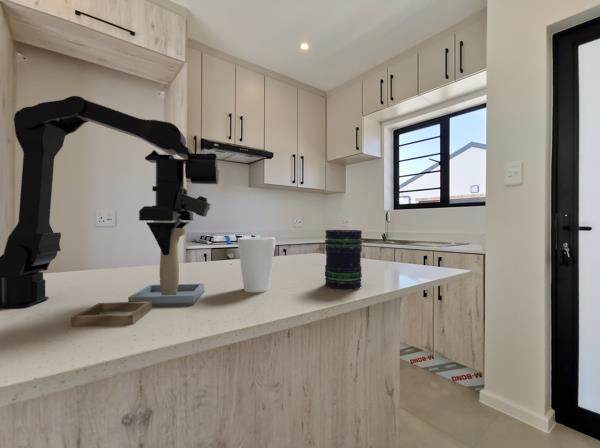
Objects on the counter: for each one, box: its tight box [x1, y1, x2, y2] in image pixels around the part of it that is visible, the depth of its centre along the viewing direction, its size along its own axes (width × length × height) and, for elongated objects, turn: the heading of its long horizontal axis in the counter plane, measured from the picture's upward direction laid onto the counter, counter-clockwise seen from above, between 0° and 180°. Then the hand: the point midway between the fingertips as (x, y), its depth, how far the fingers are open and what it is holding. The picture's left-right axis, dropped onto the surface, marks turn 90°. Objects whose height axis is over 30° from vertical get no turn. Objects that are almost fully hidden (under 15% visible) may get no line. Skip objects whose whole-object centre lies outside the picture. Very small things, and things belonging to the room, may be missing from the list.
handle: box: [159, 227, 186, 295], centre depth 67 cm, size 5×6×15 cm
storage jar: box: [324, 229, 363, 291], centre depth 81 cm, size 10×10×15 cm
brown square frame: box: [70, 301, 153, 327], centre depth 54 cm, size 10×9×2 cm
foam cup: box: [237, 236, 276, 293], centre depth 76 cm, size 10×9×13 cm
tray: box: [127, 283, 205, 307], centre depth 67 cm, size 13×12×2 cm
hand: (169, 253), depth 67 cm, fingers open, 5 cm apart
